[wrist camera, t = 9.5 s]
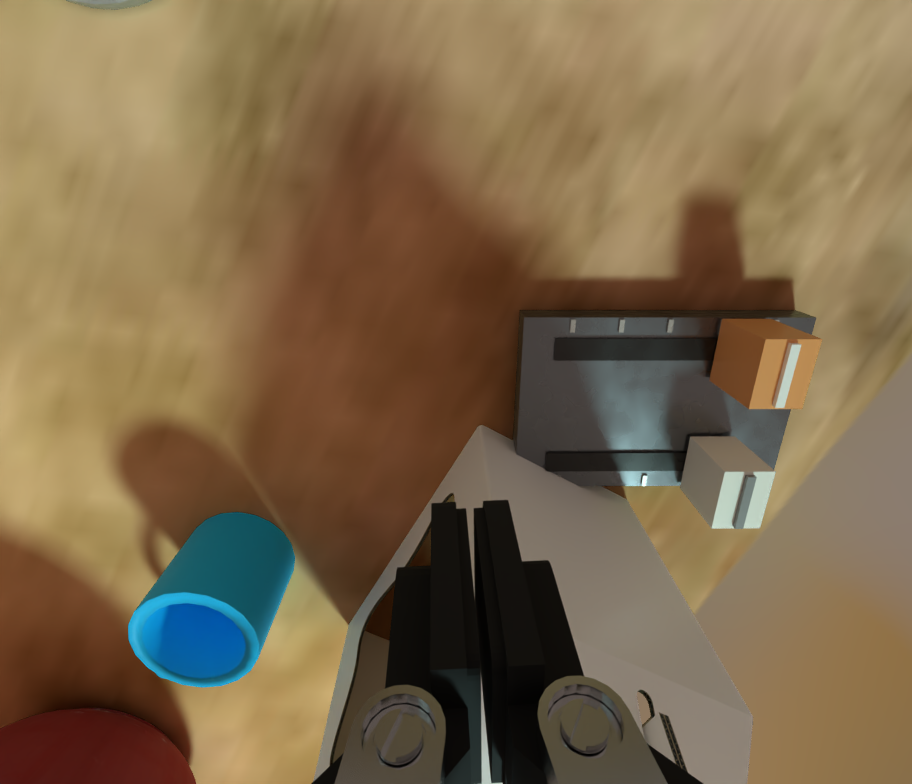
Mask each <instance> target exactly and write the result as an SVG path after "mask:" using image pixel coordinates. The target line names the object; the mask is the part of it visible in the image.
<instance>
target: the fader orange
mask: <svg viewBox="0 0 912 784" xmlns="http://www.w3.org/2000/svg"><path fill="white" fill-rule="evenodd" d="M821 342H822V339H820V338H818V337H815V336H813V335H810V334H808V333H805V332H803V331H800V330H798V329H795V328H793V327H790V326H788V325H785V324H783V323H780V322H778V321H775V320H773V319H722V322H721V326H720V331H719V336H718V341H717V346H716V351H715V355H714V360H713V365H712V370H711V375H710V380H709V381H711V382H712V383H714V384H715V385H716V386H718V387H719V388H720V389H722V390H723V391H725V392H726V393H727V394H729V395H730V396H731V397H733V398H734V399H736V400H737V401H738V402H740V403H741V404H742V405H744V406H745V407H746V408H748V409H802V408H803V405H804V401H805V398H806V394H807V391H808V387H809V384H810V380H811V377H812V373H813V370H814V367H815V363H816V360H817V356H818V353H819V349H820V346H821Z"/></svg>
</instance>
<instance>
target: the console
mask: <svg viewBox="0 0 912 784" xmlns="http://www.w3.org/2000/svg"><path fill="white" fill-rule="evenodd" d="M722 319H773V320H775V321H778V322H780V323H783V324H785V325H788V326H790V327H793V328H795V329H798V330H800V331H803V332H805V333H808V334H810V335H812V331H813V328H814V324H815V321H816V317H813V316H810V315H807V314H805V313H802V312H799V311H796V310H520V314H519V333H518V352H517V371H516V390H515V409H514V428H513V443H514V447H515V451H516V454H517V455H519V456H521V457H522V458H524V459H526V460H528V461H530V462H532V463H534V464H536V465H538V466H540V467H542V468H544V469H545V471H547V472H552V473H554V474H556V475H557V476H558V477H560V478H561V477H562V478H564V479H566V480H567V481H569V482H571V483H573V484H575V485H577V486H680V485H681V480H682V475H683V470H684V465H685V460H686V455H687V450H688V445H689V440H690V437H707V436H735V437H736V438H737V439H738V440H740V441H741V442H742V443H743V444H744V445H745V446H747V447H748V448H749V449H750V450H751V451H752V452H754V453H755V454H756V455H757V456H758V457H759V458H761V459H762V460H763V461H764V462H765V463H766V464H768V465H769V466H770V467H771V468H772V469H773V470H774V468H775V464H776V461H777V457H778V453H779V450H780V446H781V443H782V439H783V435H784V432H785V428H786V425H787V421H788V418H789V414H790V410H791V409H748V408H746V407H745V406H744V405H742V404H741V403H740V402H738V401H737V400H736V399H734V398H733V397H731V396H730V395H729V394H727V393H726V392H725V391H723V390H722V389H720V388H719V387H718V386H716V385H715V384H714V383H712V382H711V381H709V380H710V375H711V370H712V365H713V360H714V355H715V351H716V346H717V341H718V336H719V331H720V326H721V322H722Z"/></svg>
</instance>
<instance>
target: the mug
mask: <svg viewBox="0 0 912 784" xmlns="http://www.w3.org/2000/svg"><path fill="white" fill-rule="evenodd" d="M294 563H295V555H294V551H293V547H292V544H291V543H290V541H289V540H288V538H287V537H286V535H285V534H284V532H282V531H281V530H280V529H279V528H278V527H276V526H275V525H274V524H273V523H271V522H270V521H267V520H265V519H263V518H261V517H258V516H256V515H252V514H247V513H241V512H232V513H221V514H218V515H216V516H213V517H211V518H208V519H206V520H205V521H204V522H203V523H202V524H200V525H199V526H198V527H197V528H196V529H195V530H194V532H193V533H192V534H191V536H190V537H189V538H188V540H187V541H186V543H185V544H184V545H183V547H182V548H181V549H180V551H179V552H178V553H177V555H176V556H175V557H174V559H173V560H172V561H171V563H170V564H169V566H168V567H167V568H166V570H165V571H164V572H163V574H162V575H161V576H160V578H159V579H158V580H157V582H156V583H155V584H154V586H153V587H152V588H151V590H150V591H149V593H148V594H147V595H146V597H145V598H144V599H143V601H142V602H141V603H140V605H139V606H138V607H137V609H136V610H135V611H134V614H133V616H132V618H131V620H130V622H129V624H128V638H129V642H130V644H131V646H132V649H133V651H134V653H135V655H136V656H137V657H138V658H139V659H140V660H141V661H142V662H143V663H144V664H145V666H146V667H147V668H149V669H150V670H152V671H154V672H155V673H156V675H157V676H159V677H160V678H165V679H168V680H171V681H174V682H176V683H179V684H182V685H188V686H195V687H214V686H222V685H225V684H228V683H231V682H234V681H237V680H239V679H240V678H241V677H243V676H244V675H246V674H247V673H248V672H250V671H251V669H252V667H253V666H254V664H255V663H256V661H257V659H258V657H259V655H260V652H261V650H262V647H263V645H264V642H265V640H266V637H267V635H268V632H269V630H270V627H271V625H272V622H273V620H274V617H275V615H276V613H277V610H278V608H279V605H280V603H281V600H282V598H283V595H284V593H285V590H286V588H287V585H288V583H289V580H290V578H291V575H292V573H293V570H294Z"/></svg>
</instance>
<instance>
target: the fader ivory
mask: <svg viewBox="0 0 912 784" xmlns="http://www.w3.org/2000/svg"><path fill="white" fill-rule="evenodd" d="M775 473H776V471H775V470H773V469H772V468H771V467H770V466H769V465H768V464H766V463H765V462H764V461H763V460H762V459H761V458H759V457H758V456H757V455H756V454H755V453H754V452H752V451H751V450H750V449H749V448H748V447H747V446H745V445H744V444H743V443H742V442H741V441H740V440H738V439H737V438H736V437H735V436H707V437H690V440H689V445H688V450H687V455H686V460H685V465H684V470H683V475H682V480H681V485H680V489H681V490H682V491H683V492H684V494H685V495H686V496H687V498H688V499H689V500H690V501H691V503H692V504H693V505H694V507H695V508H696V509H697V510H698V512H699V513H700V514H701V516H702V517H703V518H704V519H705V521H706V522H707V523H708V525H709V526H710V527H711V528H735V529H743V528H760V526H761V522H762V519H763V515H764V512H765V508H766V505H767V501H768V498H769V494H770V490H771V487H772V483H773V480H774V476H775Z"/></svg>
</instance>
